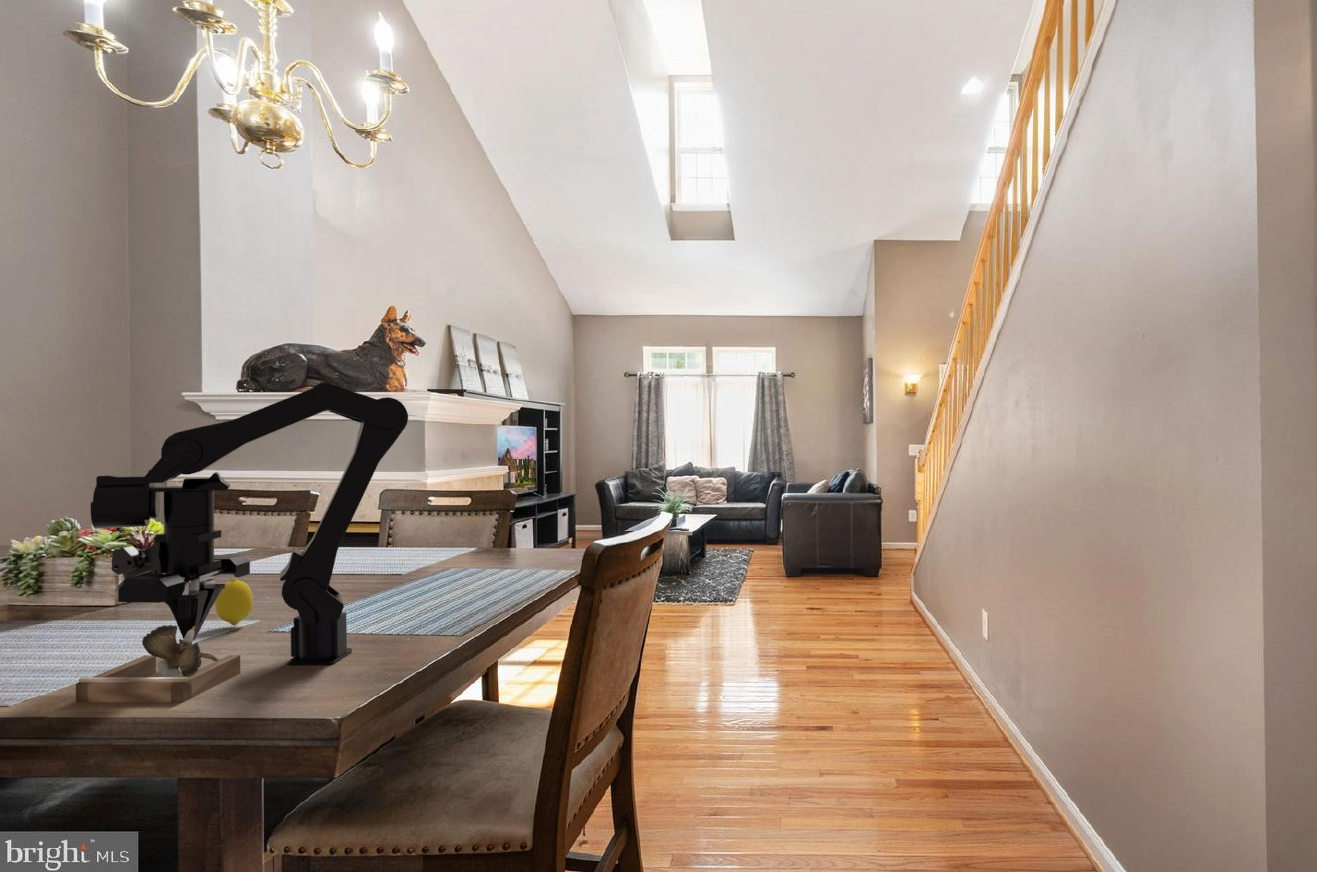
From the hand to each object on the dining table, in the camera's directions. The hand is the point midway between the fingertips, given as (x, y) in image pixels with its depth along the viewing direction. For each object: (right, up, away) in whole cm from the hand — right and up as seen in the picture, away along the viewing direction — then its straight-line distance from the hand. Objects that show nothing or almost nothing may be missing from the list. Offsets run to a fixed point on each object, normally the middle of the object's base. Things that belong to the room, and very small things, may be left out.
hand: (189, 640), depth 100 cm
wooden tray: (0, -4, -5) cm, 7 cm away
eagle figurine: (0, -2, 0) cm, 2 cm away
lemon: (-9, -5, +26) cm, 28 cm away
